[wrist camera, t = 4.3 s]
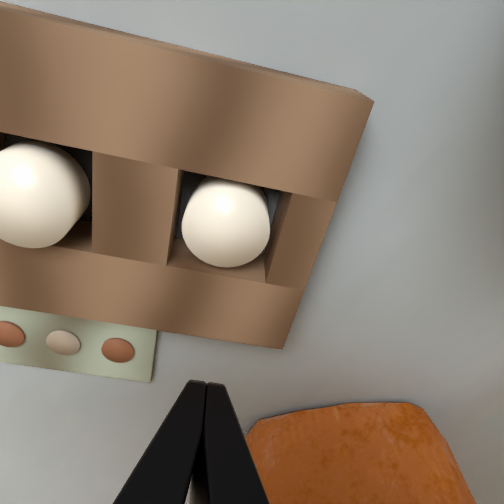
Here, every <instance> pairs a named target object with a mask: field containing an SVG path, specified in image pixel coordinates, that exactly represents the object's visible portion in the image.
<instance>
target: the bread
mask: <svg viewBox="0 0 504 504" xmlns="http://www.w3.org/2000/svg"><path fill="white" fill-rule="evenodd" d="M245 440H246V442H247V445H248V448H249V450H250V453H251V456H252V458H253V461H254V463H255V466H256V469H257V471H258V474H259V477H260V479H261V482H262V485H263V487H264V490H265V493H266V495H267V498H268V500H269V503H270V504H476V503H475V501H474V499H473V497H472V495H471V493H470V490H469V488H468V486H467V484H466V482H465V480H464V478H463V475H462V473H461V471H460V469H459V467H458V465H457V463H456V460H455V458H454V456H453V454H452V452H451V450H450V448H449V445H448V443H447V442H446V440H445V439H444V437H443V436H442V435H441V433H440V432H439V430H438V429H437V428H436V426H435V425H434V423H433V422H432V421H431V419H430V418H429V416H428V415H427V413H426V412H425V411H424V409H422V408H420V407H417V406H415V405H413V404H410V403H383V402H378V403H345V404H340V405H335V406H330V407H325V408H319V409H310V410H302V411H297V412H292V413H288V414H284V415H279V416H275V417H271V418H266V419H262V420H258V421H257V423H256V424H255V425H254V426H253V428H252V429H251V430H250V431H249V433H248V434H247V435H246V436H245Z"/></svg>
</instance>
